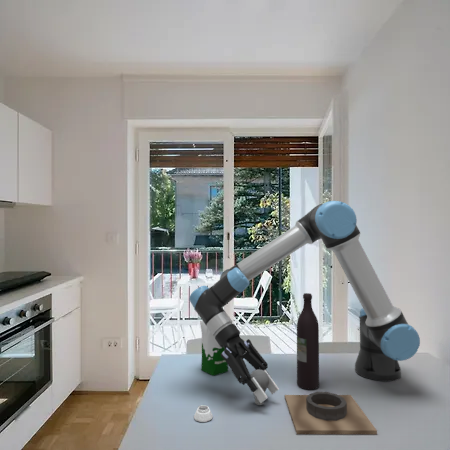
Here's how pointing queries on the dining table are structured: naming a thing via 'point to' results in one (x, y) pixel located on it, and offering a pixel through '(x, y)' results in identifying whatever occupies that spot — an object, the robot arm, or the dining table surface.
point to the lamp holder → (327, 414)
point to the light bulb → (260, 381)
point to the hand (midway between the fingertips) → (270, 395)
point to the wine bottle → (307, 347)
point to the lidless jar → (203, 414)
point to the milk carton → (211, 353)
